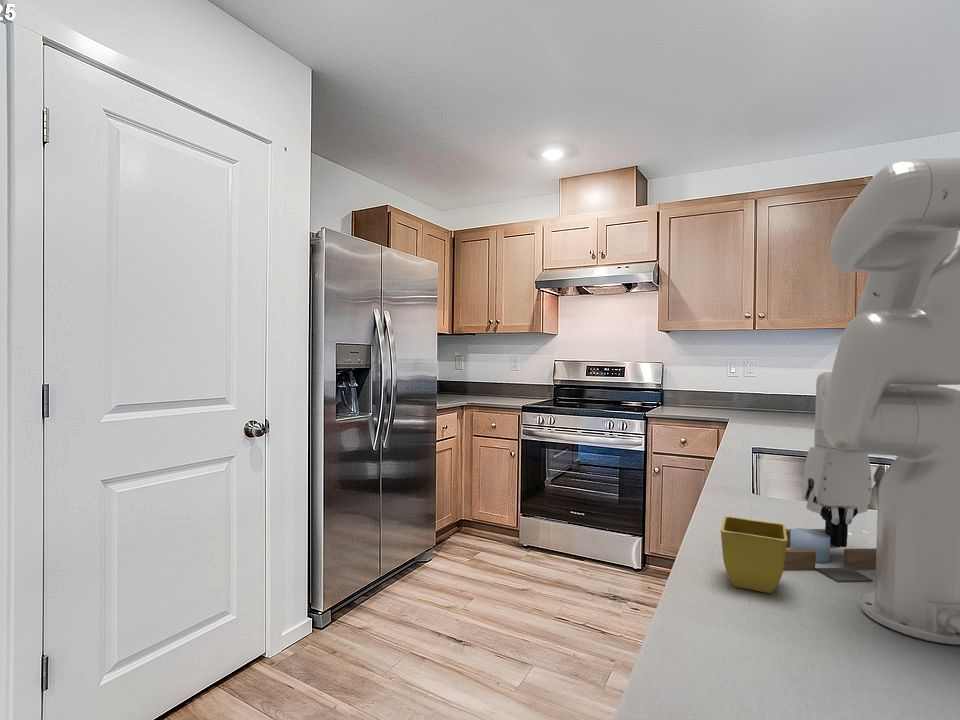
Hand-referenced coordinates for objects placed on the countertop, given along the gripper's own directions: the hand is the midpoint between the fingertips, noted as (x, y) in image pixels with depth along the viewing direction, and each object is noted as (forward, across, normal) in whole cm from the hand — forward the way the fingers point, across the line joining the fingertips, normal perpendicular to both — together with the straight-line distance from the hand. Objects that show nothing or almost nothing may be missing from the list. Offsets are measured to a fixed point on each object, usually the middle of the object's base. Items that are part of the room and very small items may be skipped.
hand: (835, 544), depth 96 cm
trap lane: (+2, +6, 0) cm, 7 cm away
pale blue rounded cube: (+2, +5, 0) cm, 5 cm away
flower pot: (+2, +23, +11) cm, 25 cm away
